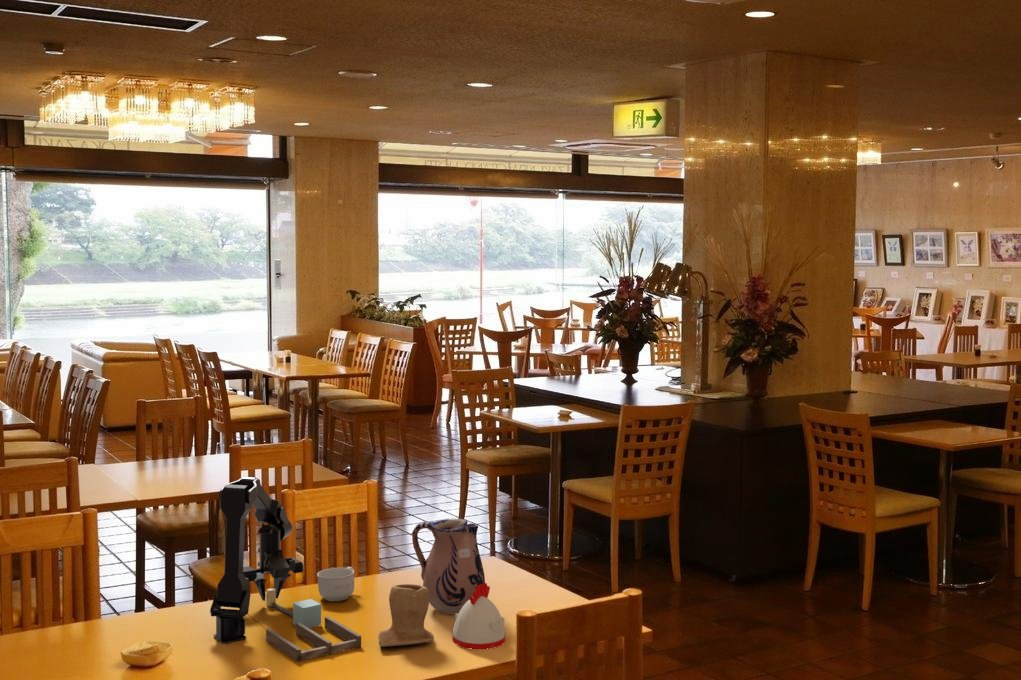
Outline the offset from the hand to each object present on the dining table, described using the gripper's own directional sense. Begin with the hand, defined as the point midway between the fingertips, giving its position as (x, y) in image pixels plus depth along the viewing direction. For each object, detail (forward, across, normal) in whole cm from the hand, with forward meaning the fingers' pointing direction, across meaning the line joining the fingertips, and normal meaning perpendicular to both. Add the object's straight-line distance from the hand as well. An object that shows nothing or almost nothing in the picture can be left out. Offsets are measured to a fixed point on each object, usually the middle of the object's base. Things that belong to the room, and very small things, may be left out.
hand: (270, 599), depth 319 cm
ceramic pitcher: (+2, +40, -32) cm, 51 cm away
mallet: (+2, 0, -12) cm, 12 cm away
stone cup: (+2, +16, -47) cm, 50 cm away
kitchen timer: (+2, +33, -57) cm, 66 cm away
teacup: (+2, +20, -5) cm, 20 cm away
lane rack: (+2, -4, -35) cm, 35 cm away
